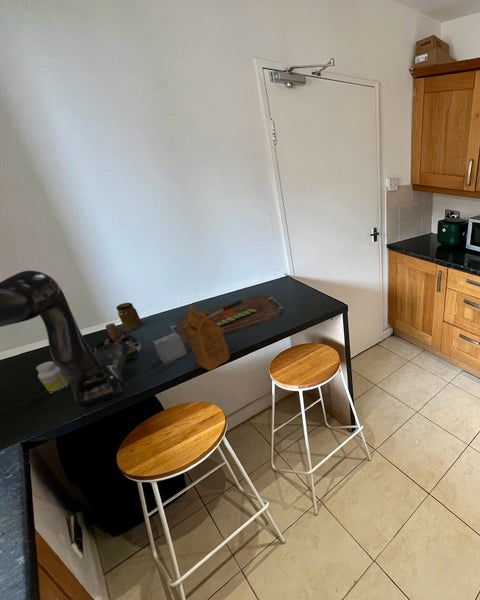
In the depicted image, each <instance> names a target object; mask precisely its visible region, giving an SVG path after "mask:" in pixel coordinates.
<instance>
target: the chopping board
mask: <svg viewBox="0 0 480 600" xmlns="http://www.w3.org/2000/svg"><path fill="white" fill-rule="evenodd" d="M271 300H272V301H271ZM284 309H285V308H284V307H283V306H282V305H281V304H280V303H279V302H278V301H277V300H276V299H274V297H273V296H269V298H268V297H267V296H266V295H265V294H258V295H255V296H252V297H248V298H244V299H239V300H237V301H233V302H229V303H226V304H222V305H219V306H215V307H212V308H209V309H205V310H201V311H197V313H208V314H209V315H210V316H208V317H207V318H208V319H210V320H211V321H213V322H214V323H216V324H217V325H219V326H220V327H221V329H222V333H223V336H225V335H228V334H231V333H235V332H237V331H241V330H244V329H246V328H250V327H252V326H255V325H258V324H262V323H264V322H267V321H268V322H269V321H270V320H274V319H277V318H279V317H281V316H282V310H284ZM187 320H188V314H187V315H183V316H181V317H178V318H176V320H175V324H176V325H170V326H169V328H170V330H171V334H173V333H175V330H174V328H177V329H178V331H179V335H180V336H181V339H182V341H183V344H186V345H188V344H189V345H190V343H189V339H188V333H187Z"/></svg>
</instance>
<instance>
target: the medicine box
mask: <svg viewBox="0 0 480 600" xmlns="http://www.w3.org/2000/svg"><path fill="white" fill-rule="evenodd" d="M151 343H152V345H153V348H154V350H155V353H156V354H157V356H158V359H159V360H160V361H161V362H162V363H163V365H167V364H170V363H171V362H173V361H175V360H178V359H180V358H182V357H184V356H186V355H188V352H187V349H186V347H185V343H184V342H183V339H182V337H181V335H180V334H179V333H176V332H174V333H170V334H168V335H165V336H162V337H161V338H159V339H156V340H154V341H152V342H151Z"/></svg>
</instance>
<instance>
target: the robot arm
mask: <svg viewBox="0 0 480 600" xmlns="http://www.w3.org/2000/svg"><path fill="white" fill-rule="evenodd" d="M37 317H40V318H41V320H42V322H43V324H44V326H45V330H46V333H47V340H48V347H49V352H50V355H51V358H52V360H53V362H54V364H55V365H56V366H58V367H59V368H60V369H61V370H62V372H63V373H64V374H65V375H66V377H67V378H68V380H69V383H70V384H69V386H70V388H71V392H72V397H73V401H74V403H75V404H76V405H77V406H79V407H81V408H92V407H95V406H98V405H101V404H104V403H106V402H109V401H112V400H114V399H117V398H119V397H121V396H122V395H123V394H124V393H125V390H126V385H125V381H124V379H123V378H122V371H123V368H124V366H125V363H126V361H127V359H126V356H127V350H128V349H129V348H130V346H138V345H139V343H140V342H139V341H138V339H137V338H136V337H134V336H133V335H131V334H128V333H127V331H121V332H120V338H118V339H117V340H116V342H114V343H113V341H112V339H111V337H110V335H108V336H107V337H106V339H105V340H104V341H98V342H97V343H96V344H94V345H93V346H91V347H90V345H89V344H88V343H87V341H86V339H85V337H84V336H83V334H82V332H81V330H80V328H79V325H78V323H77V321H76V318H75V316H74V314H73V312H72V309H71V307H70V305H69V302H68V300H67V298H66V295H65V293H64V291H63V289H62V287H61V285H60V284H59V283H58V281H57V280H56V279H55V278H53V276H50V275H49V274H47V273H44V272H42V271H38V270H23V271H20V272H17V273H15V274H13V275H11V276H9V277H8V278H5V279H4V280H2V281H0V328H2V327H6V326H10V325H15V324H18V323H23V322H26V321H30V320H32V319H34V318H37ZM127 342H129V343H127ZM88 380H89V381H88Z"/></svg>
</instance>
